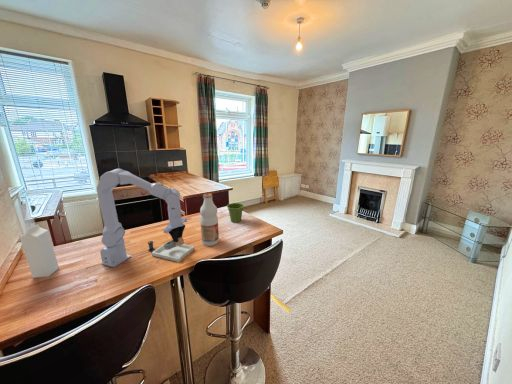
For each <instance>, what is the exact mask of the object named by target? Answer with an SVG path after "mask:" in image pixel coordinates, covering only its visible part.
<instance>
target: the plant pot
mask: <svg viewBox="0 0 512 384" xmlns="http://www.w3.org/2000/svg"><path fill="white" fill-rule="evenodd" d="M244 207H245V204H243V203H241V202H233V203H229V204H227V205H226V208H227V210H228V212H229V219H230V222H231V223H235V224H237V223H240V222H241V221H242V218H243V217H242V215H243V209H244Z"/></svg>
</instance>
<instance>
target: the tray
mask: <svg viewBox="0 0 512 384" xmlns="http://www.w3.org/2000/svg"><path fill="white" fill-rule="evenodd" d="M169 241H170V240H168V241H167V242H169ZM167 242H165V243H164V244H166V243H167ZM164 244H162V245H161V246H159V247H158V248H156V249H155V250H154V251H151V256H152V257H155V258H160V259H164V260H167V261H172V262H176V263H180V262H181V261H182V260H184V259H185V258H186V257H187V256H188V255H190V254H191V253H192V252H193V251H194V250H195V246H194V245H189V244H186V243H184V244H183V245H181V246H176V247H174V248H172V249H169V250H165V248H164ZM183 258H184V259H183Z"/></svg>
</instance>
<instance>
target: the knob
mask: <svg viewBox="0 0 512 384" xmlns="http://www.w3.org/2000/svg"><path fill="white" fill-rule="evenodd" d="M147 244H148V248H149V249H148V252H150V253H152V252H153V251H155V250H156V249H155V248H154V241H153V240H150V241H148V242H147Z"/></svg>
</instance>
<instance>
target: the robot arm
mask: <svg viewBox="0 0 512 384" xmlns="http://www.w3.org/2000/svg"><path fill="white" fill-rule="evenodd" d="M128 184H131V185H133V186H136V187H138V188H141V189H144V190H146V191H148V193H149V194H150V195H151V196H153V197H156V198H159V199H162V200H164V201H165V203H166V204H167V213H168V222H169V224H167V225H166V227H164V228H163V233H164V234H169V235H170V237H171V238H172V239H171V240H173V241H174V242H178V238H180V237H182V238H183V234H184V231H185V228H186V225H185V224H184V223H187V222H188V218H187V217H183V218H182V210H181V208H182V207H181V201H180V199H181V193H180V191H178V189H176V188H172V187H166V186H164V185H162V183H161V182H154V183H151V182H149V181H147V180H145V179H143V178H141V177H139V176H137V175H135V174H133V173H131V172H130V171H128V170H124V169H122V168H119V167H118V168H115V169H112V170H110V171H106V172H104V173H103V174H101V176H99V180H98V184H97V186H96V193H97V196H98V197H97V198H98V202H99V208H100V211H101V216H102V221H103V224H104V227H103V230H102V237H101V243H102V245H104V247H103V248H101V249H100V256H101V257H100V258H101V264H102V265H104V266H108V267H112V268H115V267H116V266H118V265H120V264H121V263H123V262H125V261H126V260H128V259H129V258H131V257H132V255H131V254H129V253H128V254H127V249H126V245H125V238H124V237H125V234H126V231H125V228H124V227H123V226H122V223H121V222H119V219H118V218H119V217H118V213H117V207H116V203H115V198H114V194H113V190H114V189H115V188H116V187H117V186H118V185H122V186H123V185H128Z"/></svg>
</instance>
